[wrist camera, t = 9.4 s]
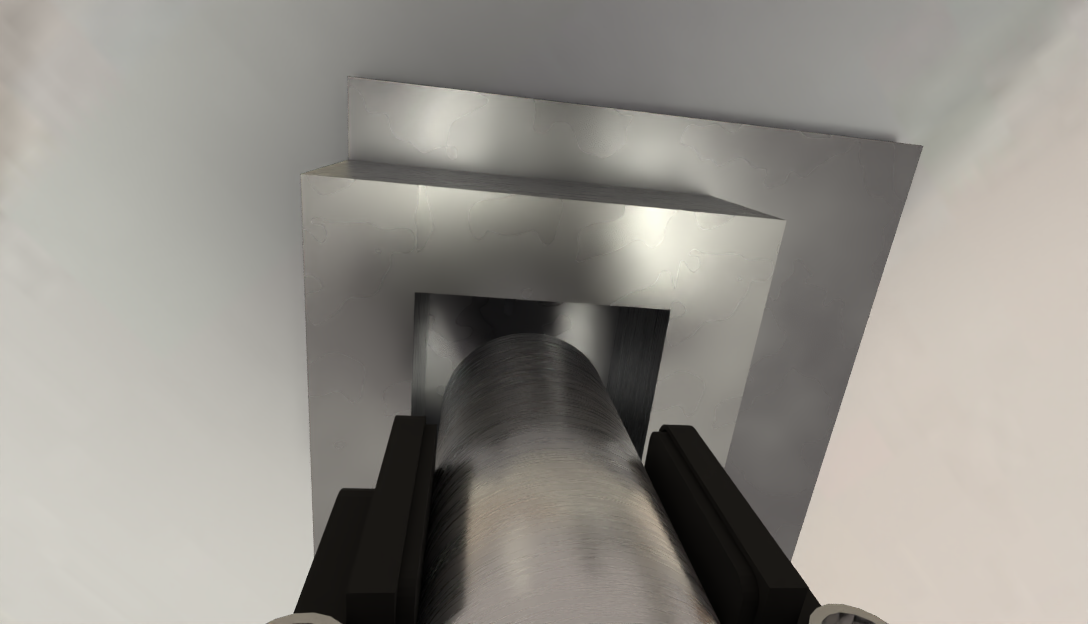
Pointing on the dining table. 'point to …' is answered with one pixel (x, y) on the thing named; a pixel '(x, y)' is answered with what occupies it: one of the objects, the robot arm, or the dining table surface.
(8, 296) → the dining table surface
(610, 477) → the pin
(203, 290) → the dining table surface
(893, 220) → the plate
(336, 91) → the dining table surface
